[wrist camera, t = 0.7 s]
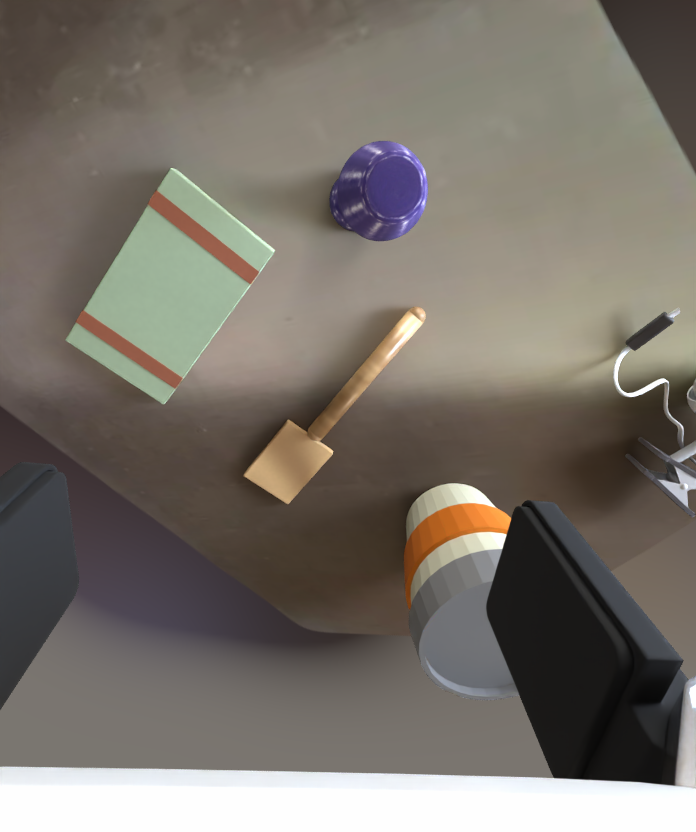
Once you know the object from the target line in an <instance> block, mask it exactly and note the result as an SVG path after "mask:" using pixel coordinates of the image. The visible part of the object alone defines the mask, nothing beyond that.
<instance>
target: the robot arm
mask: <svg viewBox="0 0 696 832" xmlns="http://www.w3.org/2000/svg"><path fill="white" fill-rule="evenodd" d="M78 584H79V576H78V567H77V559H76V551H75V544H74V536H73V528H72V520H71V513H70V505H69V497H68V489H67V481H66V477H65V475H64V474H63V473H62V472H58V471H57V469H56V467H55V466H54V465H52V464H40V463H27V462H20V463H18V464H16V465H15V466H13V467H12V468H11V469H10V470H9V471H7V472H6V473H5V474H3V475H2V476H1V477H0V709H1V708H2V707H3V705H4V703H5V702H6V700H7V699H8V697H9V696H10V694H11V693H12V691H13V690H14V688H15V687H16V685H17V684H18V682H19V681H20V679H21V678H22V676H23V675H24V673H25V671H26V670H27V668H28V667H29V665H30V664H31V662H32V661H33V659H34V658H35V656H36V655H37V653H38V652H39V650H40V649H41V647H42V646H43V644H44V643H45V641H46V639H47V638H48V636H49V635H50V633H51V632H52V630H53V629H54V627H55V626H56V624H57V623H58V621H59V620H60V618H61V617H62V615H63V614H64V612H65V611H66V609H67V608H68V606H69V604H70V603H71V601H72V600H73V598H74V596H75V594H76V592H77V589H78ZM486 611H487V617H488V620H489V622H490V625H491V627H492V630H493V632H494V635H495V637H496V639H497V642H498V644H499V647H500V649H501V652H502V654H503V656H504V659H505V661H506V664H507V666H508V669H509V671H510V673H511V676H512V678H513V681H514V683H515V686H516V688H517V690H518V693H519V695H520V698H521V700H522V703H523V705H524V707H525V710H526V712H527V715H528V717H529V720H530V722H531V724H532V727H533V729H534V732H535V734H536V737H537V739H538V741H539V744H540V746H541V749H542V751H543V754H544V756H545V758H546V761H547V763H548V766H549V768H550V770H551V773H552V775H553V777H554V778H532V777H495V776H494V777H493V776H456V775H454V776H453V775H419V774H416V775H415V774H380V773H336V772H335V773H333V772H289V771H238V770H188V769H187V770H186V769H125V768H123V769H122V768H119V769H118V768H56V767H52V768H51V767H0V832H696V676H695V677H693V678H691V679H690V680H688V678H687V677H686V676H685V675H684V673H683V672H682V671H681V670H680V667H681V665H682V663H683V659H682V658H681V657H680V656H679V655H678V653H677V652H676V651H675V650H674V648H673V647H672V646H671V645H670V644H669V642H668V641H667V640H666V639H665V638H664V636H663V635H662V634H661V632H660V631H659V630H658V629H657V628H656V626H655V625H654V624H653V623H652V621H651V620H650V619H649V618H648V616H647V615H646V614H645V613H644V612H643V610H642V609H641V608H640V607H639V605H638V604H637V603H636V602H635V601H634V599H633V598H632V597H631V596H630V594H629V593H628V592H627V591H626V590H625V588H624V587H623V586H622V585H621V583H620V582H619V581H618V580H617V579H616V577H615V576H614V575H613V574H612V572H611V571H610V570H609V569H608V567H607V566H606V565H605V564H604V562H603V561H602V560H601V559H600V558H599V556H598V555H597V554H596V553H595V551H594V550H593V549H592V548H591V547H590V545H589V544H588V543H587V542H586V540H585V539H584V538H583V537H582V535H581V534H580V533H579V532H578V531H577V529H576V528H575V527H574V526H573V524H572V523H571V522H570V521H569V520H568V518H567V517H566V516H565V515H564V513H563V512H562V511H561V510H560V509H559V507H558V506H557V505H556V504H555V503H553V502H543V501H530V500H527V501H525V502H524V503H523V504H522V506H518V507H516V508H515V509H514V512H513V515H512V518H511V521H510V525H509V528H508V531H507V535H506V538H505V542H504V545H503V548H502V552H501V555H500V558H499V562H498V565H497V568H496V572H495V575H494V578H493V582H492V585H491V589H490V592H489V595H488V599H487V603H486Z"/></svg>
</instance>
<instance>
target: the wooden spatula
mask: <svg viewBox="0 0 696 832" xmlns="http://www.w3.org/2000/svg"><path fill="white" fill-rule="evenodd" d="M425 318H426V315H425V312H424V310H423V309H422V308H420V307H412V308H411V309H409V310H408V312H407V313H406V314H405V315H404V316H403V317H402V319H401V320H400V321H399V322H398V323H397V324H396V326H395V327H394V328H393V329H392V330H391V332H390V333H389V334H388V335H387V336H386V337H385V339H384V340H383V341H382V342H381V343H380V344H379V346H378V347H377V348H376V349H375V350H374V351H373V353H372V354H371V355H370V356H369V357H368V359H367V360H366V361H365V362H364V363H363V364H362V366H361V367H360V368H359V369H358V370H357V371H356V373H355V374H354V375H353V376H352V377H351V379H350V380H349V381H348V382H347V383H346V384H345V386H344V387H343V388H342V389H341V390H340V391H339V393H338V394H337V395H336V396H335V397H334V399H333V400H332V401H331V402H330V403H329V404H328V406H327V407H326V408H325V409H324V410H323V411H322V413H321V414H320V415H319V416H318V417H317V418H316V420H315V421H314V422H313V423H312V424H311V426H310V427H309V428H308V432H306V431H304V430H303V429H301V428H300V427H299V426H297V425H296V424H294V423H293V422H292V421H290V420H287V422H286V423H285V424H284V425H283V426H282V428H281V429H280V430H279V431H278V432H277V434H276V435H275V436H274V437H273V438H272V440H271V441H270V442H269V443H268V444H267V446H266V447H265V448H264V449H263V450H262V452H261V453H260V454H259V455H258V457H257V458H256V459H255V460H254V461H253V463H252V464H251V465H250V466H249V467H248V469H247V470H246V471H245V472H244V476H245V477H246V478H248V479H249V480H251V481H252V482H254V483H255V484H257V485H259V486H260V487H262V488H263V489H265V490H266V491H268V492H269V493H271V494H273V495H274V496H276V497H277V498H279V499H280V500H282V501H284V502H285V503H287V504H289V503H290V502H291V500H292V499H293V498H294V497H295V496H296V495H297V494H298V493H299V491H300V490H301V489H302V488H303V487H304V486H305V485H306V484H307V482H308V481H309V480H310V479H311V478H312V477H313V476H314V475H315V473H316V472H317V471H318V470H319V469H320V468H321V467H322V466H323V464H324V463H325V462H326V461H327V460H328V459H329V458H330V456H331V455H332V454H333V450H331V449H330V448H328V447H327V446H326V445H324V444H323V443H321V442H320V440H322V439H323V438H324V436H325V435H326V434H327V433H328V432H329V431H330V430H331V428H332V427H333V426H334V425H335V424H336V423H337V421H338V420H339V419H340V418H341V417H342V416H343V415H344V413H345V412H346V411H347V410H348V409H349V408H350V407H351V405H352V404H353V403H354V402H355V401H356V400H357V398H358V397H359V396H360V395H361V394H362V393H363V392H364V390H365V389H366V388H367V387H368V386H369V385H370V384H371V382H372V381H373V380H374V379H375V378H376V377H377V375H378V374H379V373H380V372H381V371H382V370H383V369H384V367H385V366H386V365H387V364H388V363H389V362H390V361H391V359H392V358H393V357H394V356H395V355H396V354H397V352H398V351H399V350H400V349H401V348H402V347H403V346H404V344H405V343H406V342H407V341H408V340H409V339H410V337H411V336H412V335H413V334H414V333H415V332H416V331H417V329H418V328H419V327H420V326H421V325H422V324H423V322H424V321H425Z"/></svg>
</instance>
